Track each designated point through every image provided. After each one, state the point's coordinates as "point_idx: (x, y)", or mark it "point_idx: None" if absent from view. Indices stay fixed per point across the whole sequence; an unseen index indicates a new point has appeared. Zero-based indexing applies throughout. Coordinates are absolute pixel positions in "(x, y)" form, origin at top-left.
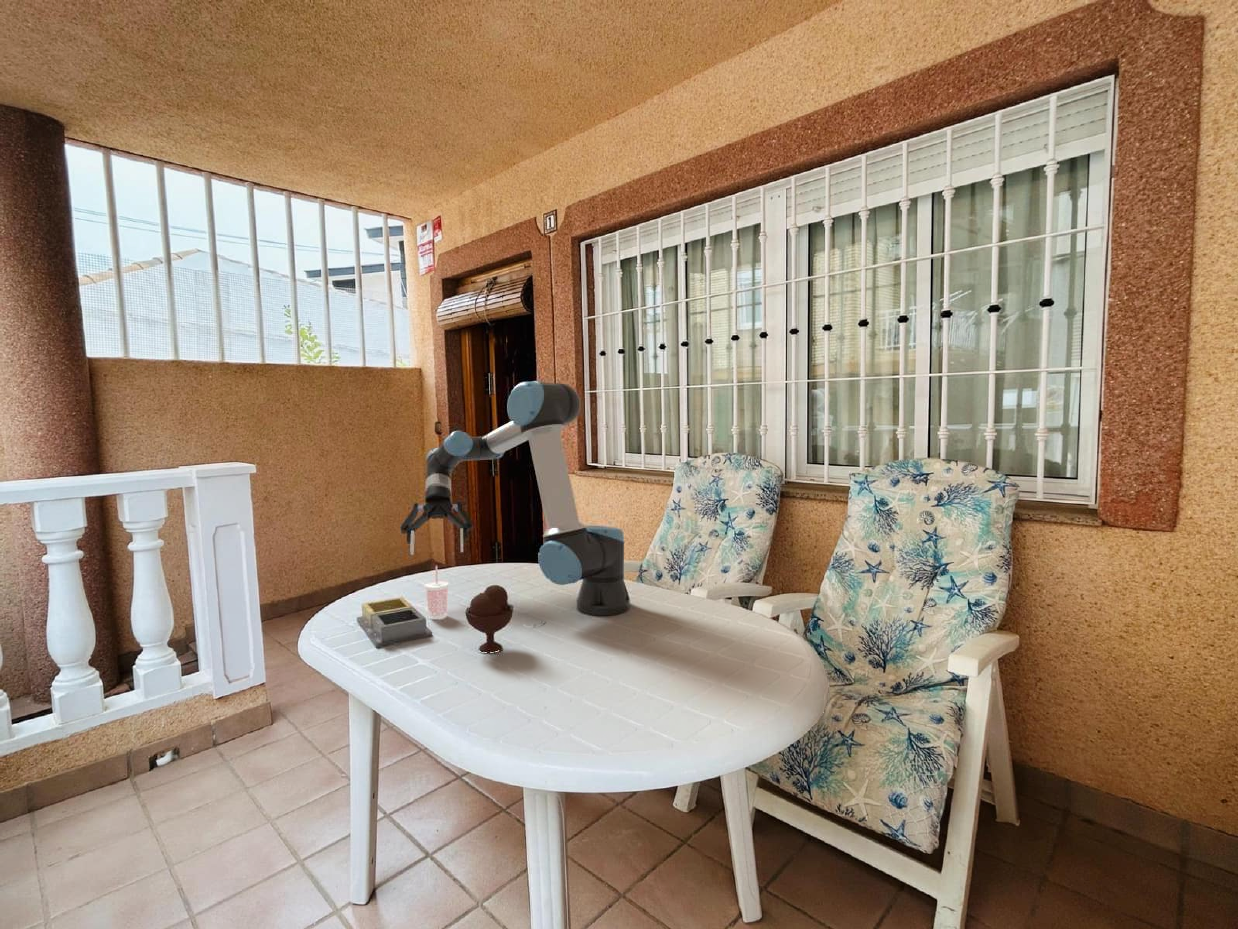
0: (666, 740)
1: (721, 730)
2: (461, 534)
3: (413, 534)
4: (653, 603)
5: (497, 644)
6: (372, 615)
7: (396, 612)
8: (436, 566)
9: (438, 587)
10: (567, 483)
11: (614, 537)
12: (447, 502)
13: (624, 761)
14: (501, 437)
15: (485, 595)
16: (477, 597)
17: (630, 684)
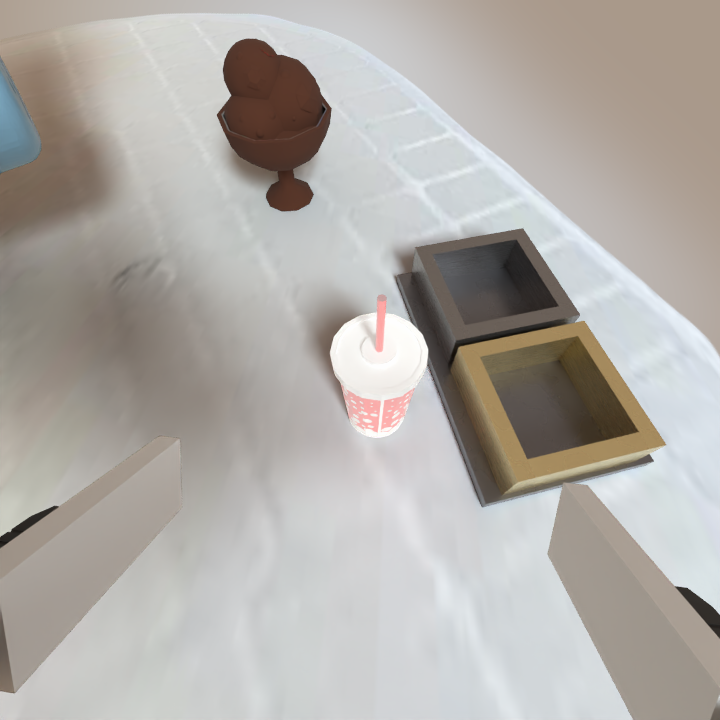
0: (201, 25)
1: (147, 24)
2: (73, 510)
3: (669, 617)
4: None
5: (275, 183)
6: (575, 312)
7: (506, 318)
8: (381, 295)
9: (375, 313)
10: None
11: None
12: None
13: (251, 18)
14: None
15: (281, 55)
16: (299, 64)
17: (158, 81)
